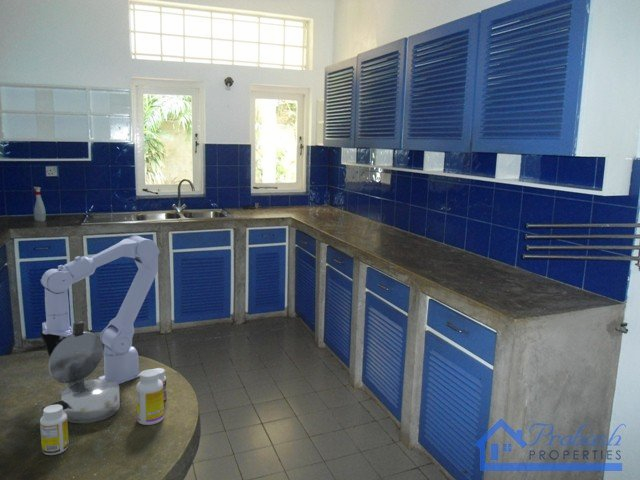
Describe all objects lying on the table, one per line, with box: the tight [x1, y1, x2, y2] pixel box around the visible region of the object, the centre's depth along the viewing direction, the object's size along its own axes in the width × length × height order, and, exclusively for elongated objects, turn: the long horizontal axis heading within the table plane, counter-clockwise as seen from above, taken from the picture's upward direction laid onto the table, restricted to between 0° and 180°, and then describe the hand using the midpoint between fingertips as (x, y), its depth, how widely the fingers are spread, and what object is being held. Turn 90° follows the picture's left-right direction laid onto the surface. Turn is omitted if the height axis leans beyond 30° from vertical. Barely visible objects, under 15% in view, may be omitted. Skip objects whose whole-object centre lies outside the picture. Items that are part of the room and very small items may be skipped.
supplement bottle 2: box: [135, 368, 165, 426], centre depth 131 cm, size 7×7×13 cm
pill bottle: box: [154, 367, 168, 401], centre depth 143 cm, size 5×5×8 cm
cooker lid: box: [47, 320, 104, 387], centre depth 138 cm, size 15×18×1 cm
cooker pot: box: [41, 378, 121, 424], centre depth 134 cm, size 19×14×6 cm
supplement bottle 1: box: [39, 404, 70, 456], centre depth 117 cm, size 6×6×10 cm
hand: (60, 359), depth 143 cm, fingers open, 7 cm apart
